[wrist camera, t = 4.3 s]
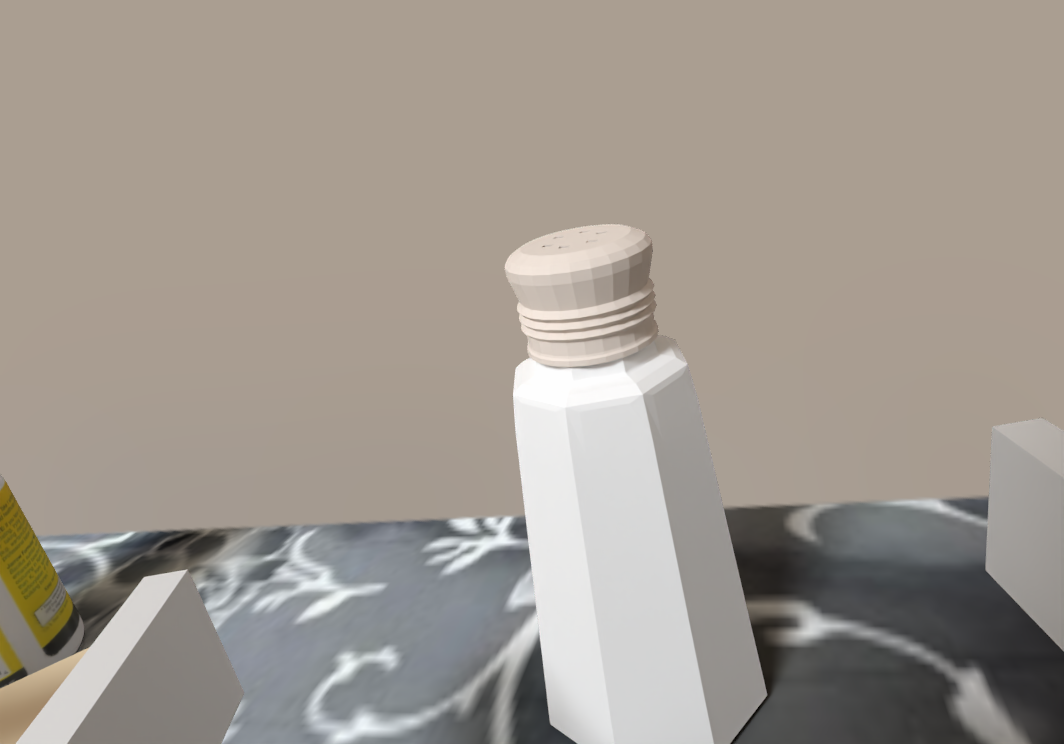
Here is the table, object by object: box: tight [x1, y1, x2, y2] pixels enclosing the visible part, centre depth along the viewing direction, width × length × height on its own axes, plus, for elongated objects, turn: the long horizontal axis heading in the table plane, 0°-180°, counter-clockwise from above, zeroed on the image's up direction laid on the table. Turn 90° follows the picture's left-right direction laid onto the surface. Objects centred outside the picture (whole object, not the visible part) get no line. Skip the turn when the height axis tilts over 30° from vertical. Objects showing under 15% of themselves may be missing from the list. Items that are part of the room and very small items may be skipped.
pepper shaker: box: [504, 224, 767, 744], centre depth 15 cm, size 5×5×11 cm
